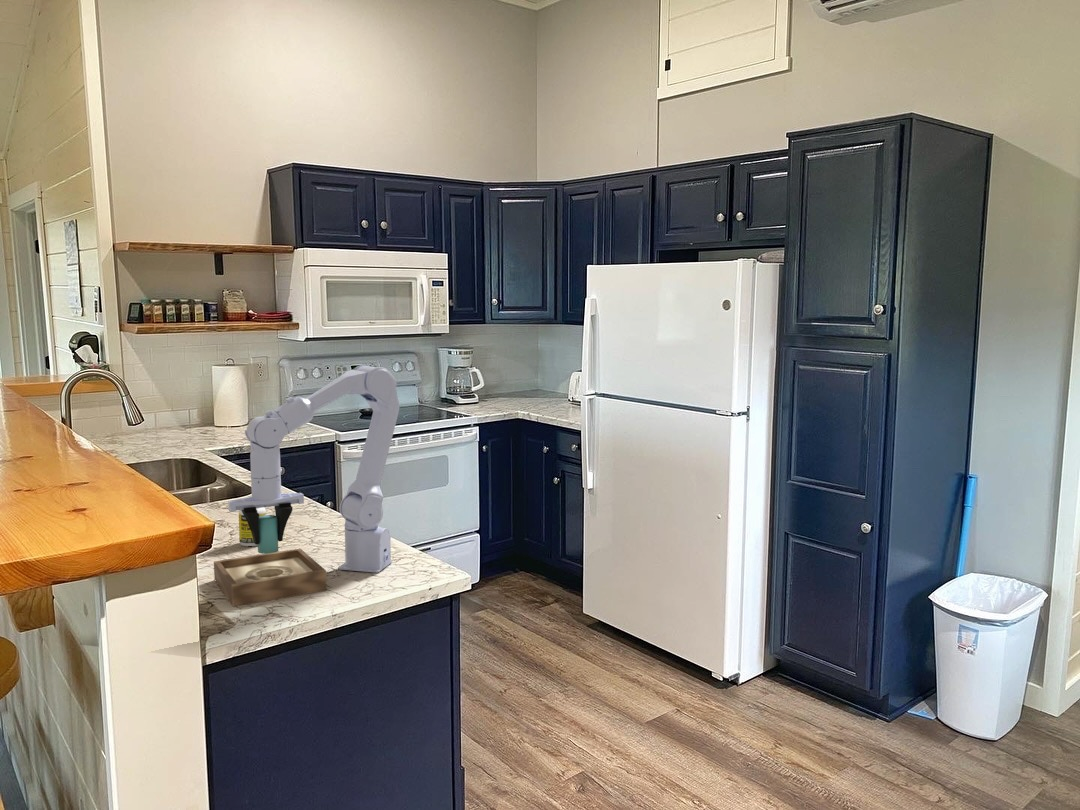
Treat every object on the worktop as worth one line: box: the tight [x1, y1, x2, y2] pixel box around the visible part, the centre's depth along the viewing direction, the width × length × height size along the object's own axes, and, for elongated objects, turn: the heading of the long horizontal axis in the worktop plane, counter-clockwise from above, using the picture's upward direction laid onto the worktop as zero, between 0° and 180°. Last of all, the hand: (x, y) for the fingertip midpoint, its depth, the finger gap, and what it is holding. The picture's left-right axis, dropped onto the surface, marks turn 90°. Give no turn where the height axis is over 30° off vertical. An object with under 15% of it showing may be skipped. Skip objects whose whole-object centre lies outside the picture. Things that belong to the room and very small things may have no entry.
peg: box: [257, 514, 279, 554], centre depth 168 cm, size 4×4×7 cm
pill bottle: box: [238, 497, 267, 547], centre depth 197 cm, size 6×6×11 cm
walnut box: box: [213, 548, 328, 607], centre depth 168 cm, size 18×18×4 cm
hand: (268, 541), depth 168 cm, fingers closed on peg, 4 cm apart
